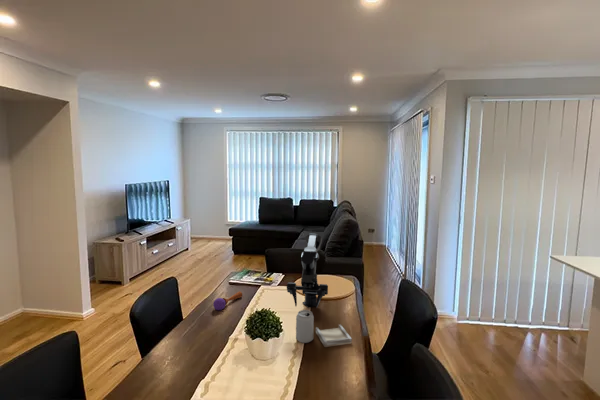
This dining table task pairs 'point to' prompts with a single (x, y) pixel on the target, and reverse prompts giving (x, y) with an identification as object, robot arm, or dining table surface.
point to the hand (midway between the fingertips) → (306, 306)
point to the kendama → (225, 301)
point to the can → (304, 326)
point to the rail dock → (334, 336)
